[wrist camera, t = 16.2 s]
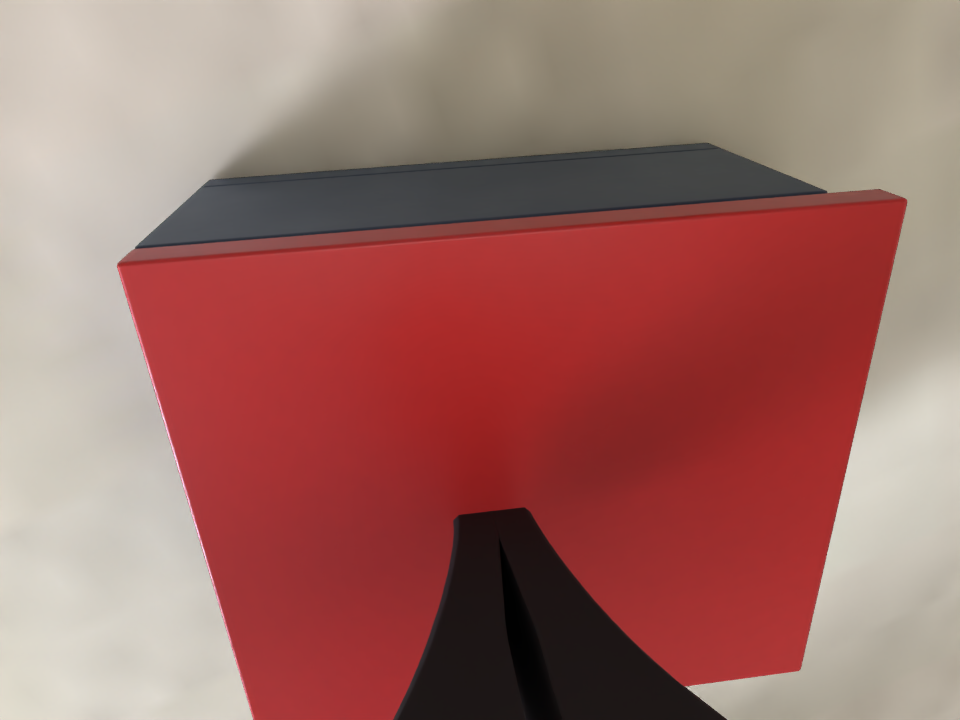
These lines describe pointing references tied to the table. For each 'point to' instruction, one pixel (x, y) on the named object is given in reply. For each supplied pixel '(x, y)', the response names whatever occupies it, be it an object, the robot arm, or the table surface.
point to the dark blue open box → (468, 193)
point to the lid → (517, 425)
